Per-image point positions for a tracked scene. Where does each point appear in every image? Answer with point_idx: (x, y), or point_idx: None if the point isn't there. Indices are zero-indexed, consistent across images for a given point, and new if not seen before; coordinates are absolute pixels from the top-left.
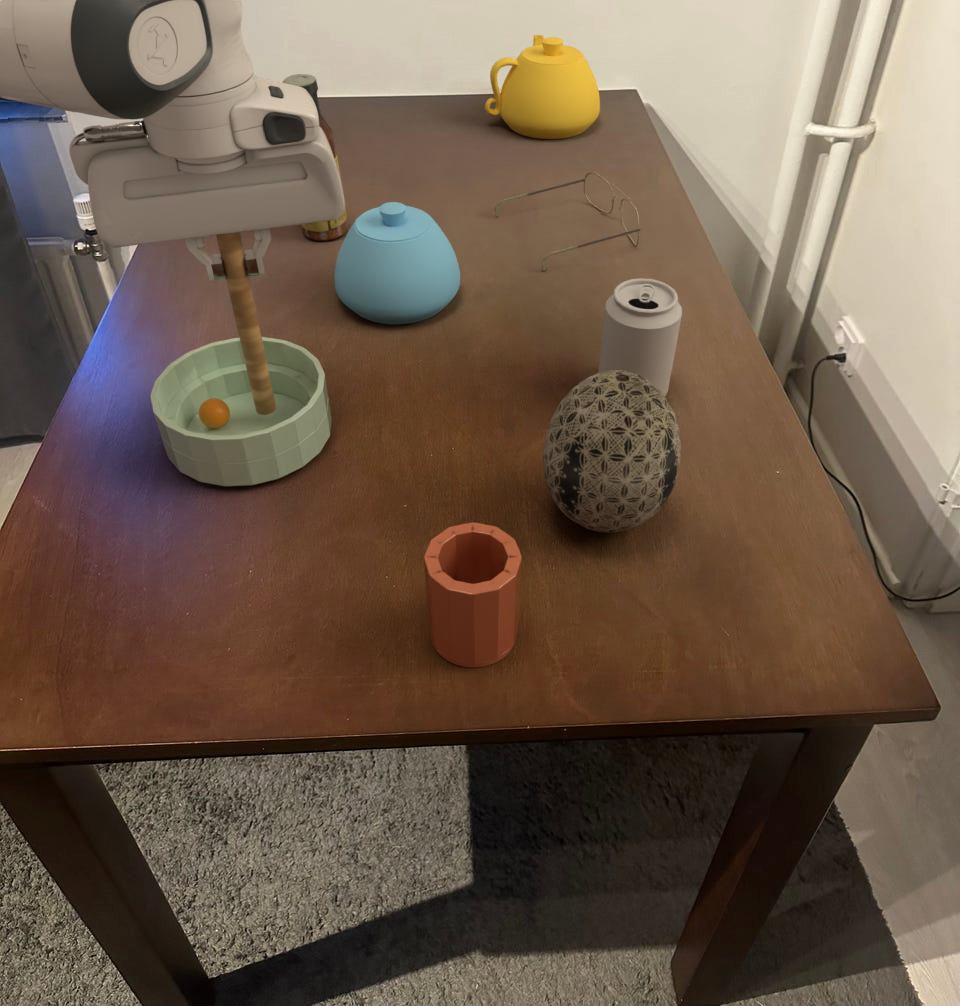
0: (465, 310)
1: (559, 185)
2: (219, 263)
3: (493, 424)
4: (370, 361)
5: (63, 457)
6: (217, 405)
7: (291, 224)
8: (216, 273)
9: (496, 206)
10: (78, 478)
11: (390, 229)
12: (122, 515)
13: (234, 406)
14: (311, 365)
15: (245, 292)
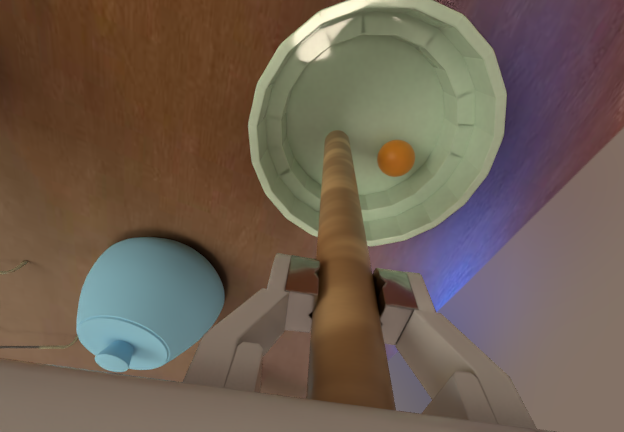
0: (105, 236)
1: (5, 347)
2: (393, 305)
3: (61, 16)
4: (209, 198)
5: (553, 173)
6: (394, 157)
7: (57, 371)
8: (402, 283)
9: (72, 343)
10: (561, 131)
11: (126, 337)
12: (560, 33)
13: (364, 176)
14: (264, 163)
15: (335, 231)
